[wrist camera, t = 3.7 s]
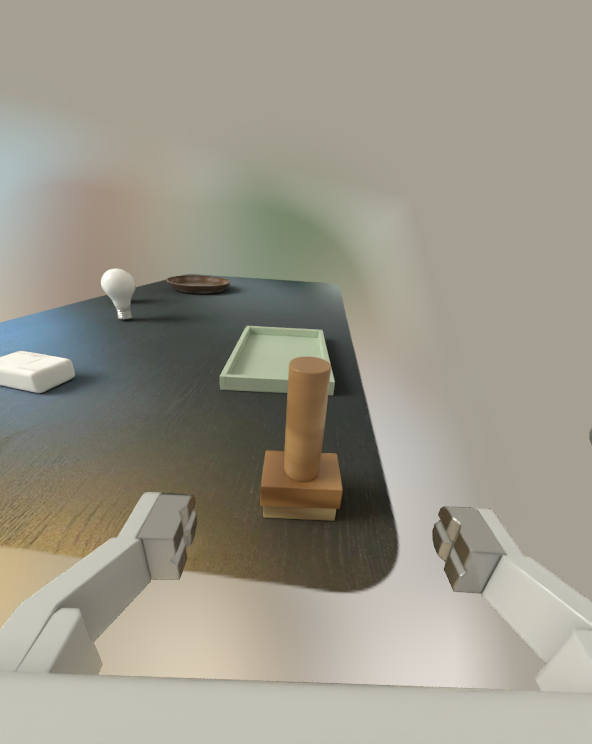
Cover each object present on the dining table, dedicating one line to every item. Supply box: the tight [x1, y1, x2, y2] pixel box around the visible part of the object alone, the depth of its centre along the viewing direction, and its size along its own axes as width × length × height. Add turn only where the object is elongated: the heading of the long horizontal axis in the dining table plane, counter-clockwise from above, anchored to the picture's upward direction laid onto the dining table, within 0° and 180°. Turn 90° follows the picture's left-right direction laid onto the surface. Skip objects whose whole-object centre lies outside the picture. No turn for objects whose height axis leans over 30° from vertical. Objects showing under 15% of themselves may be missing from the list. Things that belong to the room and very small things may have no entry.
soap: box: [0, 351, 75, 393], centre depth 40 cm, size 9×6×3 cm, turn 76°
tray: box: [220, 326, 335, 395], centre depth 52 cm, size 16×24×2 cm, turn 0°
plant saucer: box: [167, 276, 230, 294], centre depth 104 cm, size 21×21×3 cm
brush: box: [261, 356, 343, 521], centre depth 23 cm, size 6×4×12 cm, turn 90°
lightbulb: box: [101, 269, 136, 320], centre depth 66 cm, size 6×6×11 cm
